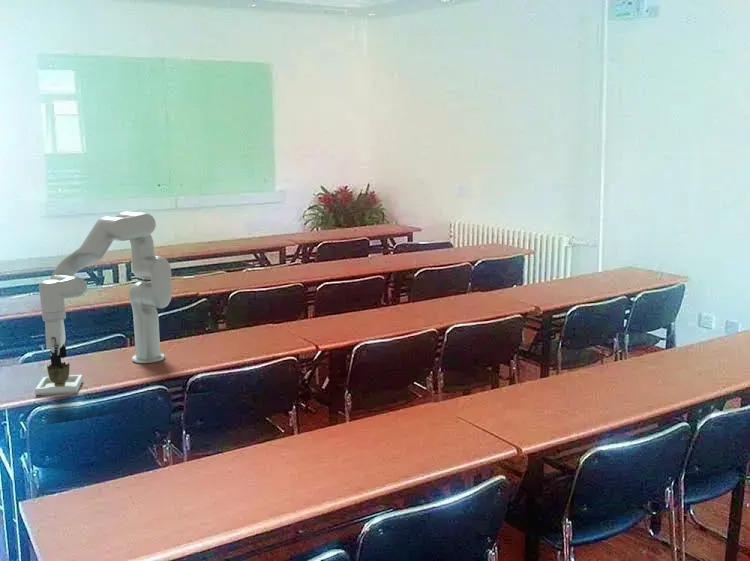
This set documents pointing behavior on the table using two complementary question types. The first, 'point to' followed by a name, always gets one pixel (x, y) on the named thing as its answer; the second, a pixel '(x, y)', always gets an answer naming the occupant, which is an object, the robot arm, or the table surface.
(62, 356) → the robot arm
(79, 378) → the tray
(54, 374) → the cup
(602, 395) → the table surface
